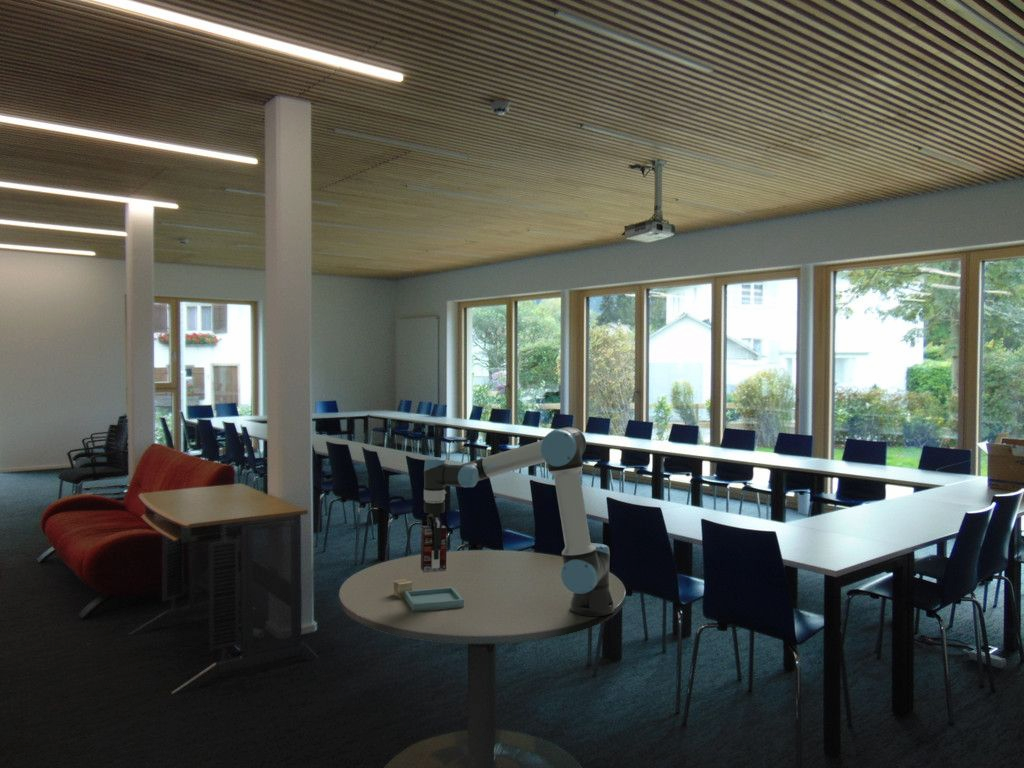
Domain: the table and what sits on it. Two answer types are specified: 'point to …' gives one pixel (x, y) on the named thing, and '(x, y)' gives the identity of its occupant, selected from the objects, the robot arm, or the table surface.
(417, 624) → the table surface
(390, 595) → the table surface
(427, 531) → the supplement box
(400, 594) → the oak cube
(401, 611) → the table surface
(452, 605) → the tray
